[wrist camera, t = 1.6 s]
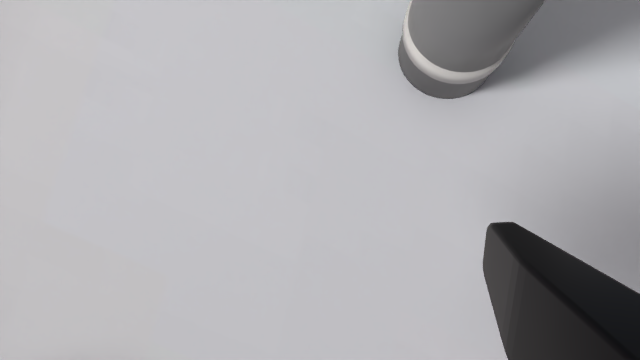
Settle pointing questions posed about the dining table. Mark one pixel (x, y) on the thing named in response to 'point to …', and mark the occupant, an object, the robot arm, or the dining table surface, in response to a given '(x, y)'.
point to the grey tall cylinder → (459, 42)
